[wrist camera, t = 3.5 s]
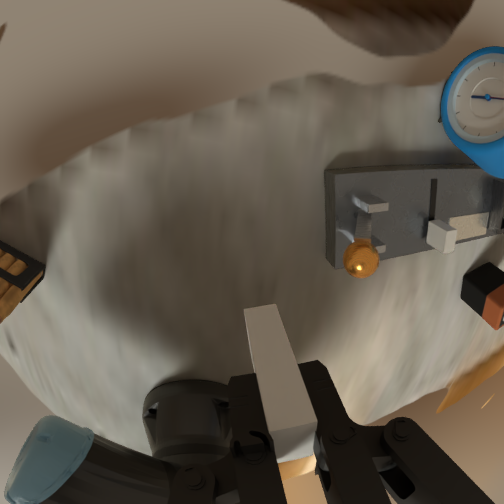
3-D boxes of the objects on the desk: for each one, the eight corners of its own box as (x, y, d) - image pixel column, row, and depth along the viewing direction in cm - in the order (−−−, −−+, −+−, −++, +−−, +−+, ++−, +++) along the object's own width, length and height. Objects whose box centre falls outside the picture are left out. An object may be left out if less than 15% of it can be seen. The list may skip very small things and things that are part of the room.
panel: (325, 257, 30) (345, 281, 26) (323, 169, 26) (346, 180, 22) (520, 220, 33) (540, 231, 29) (526, 167, 29) (549, 175, 25)
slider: (426, 242, 28) (443, 254, 25) (428, 221, 27) (446, 231, 24) (436, 240, 28) (453, 251, 25) (439, 219, 27) (457, 229, 24)
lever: (350, 236, 26) (340, 283, 20) (350, 209, 25) (341, 248, 19) (377, 238, 25) (377, 286, 19) (379, 211, 24) (381, 251, 18)
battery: (462, 275, 35) (506, 311, 26) (489, 260, 35) (532, 291, 26) (458, 298, 37) (499, 336, 28) (485, 282, 37) (525, 315, 28)
